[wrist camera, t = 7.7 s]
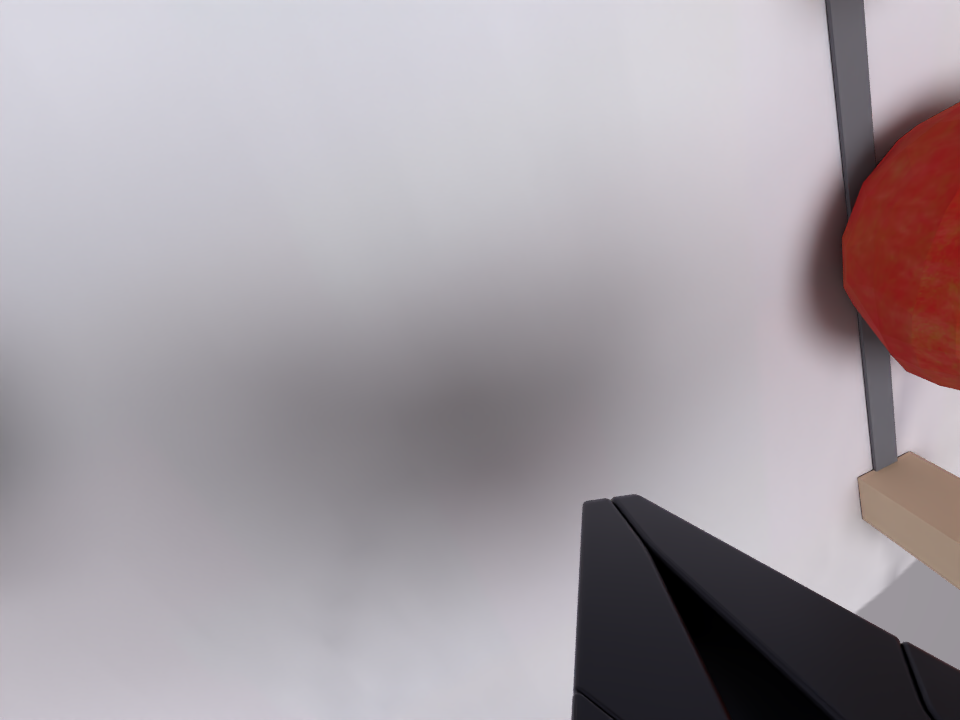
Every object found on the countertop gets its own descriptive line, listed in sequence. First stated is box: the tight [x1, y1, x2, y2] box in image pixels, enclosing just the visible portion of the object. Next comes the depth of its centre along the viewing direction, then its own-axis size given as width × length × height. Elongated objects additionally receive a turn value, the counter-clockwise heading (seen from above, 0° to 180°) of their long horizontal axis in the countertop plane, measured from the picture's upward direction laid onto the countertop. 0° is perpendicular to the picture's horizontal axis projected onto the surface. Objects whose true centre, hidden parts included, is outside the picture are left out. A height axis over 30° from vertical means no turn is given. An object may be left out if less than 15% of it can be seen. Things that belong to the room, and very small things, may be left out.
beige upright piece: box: [826, 0, 960, 590], centre depth 18 cm, size 3×28×7 cm, turn 24°
